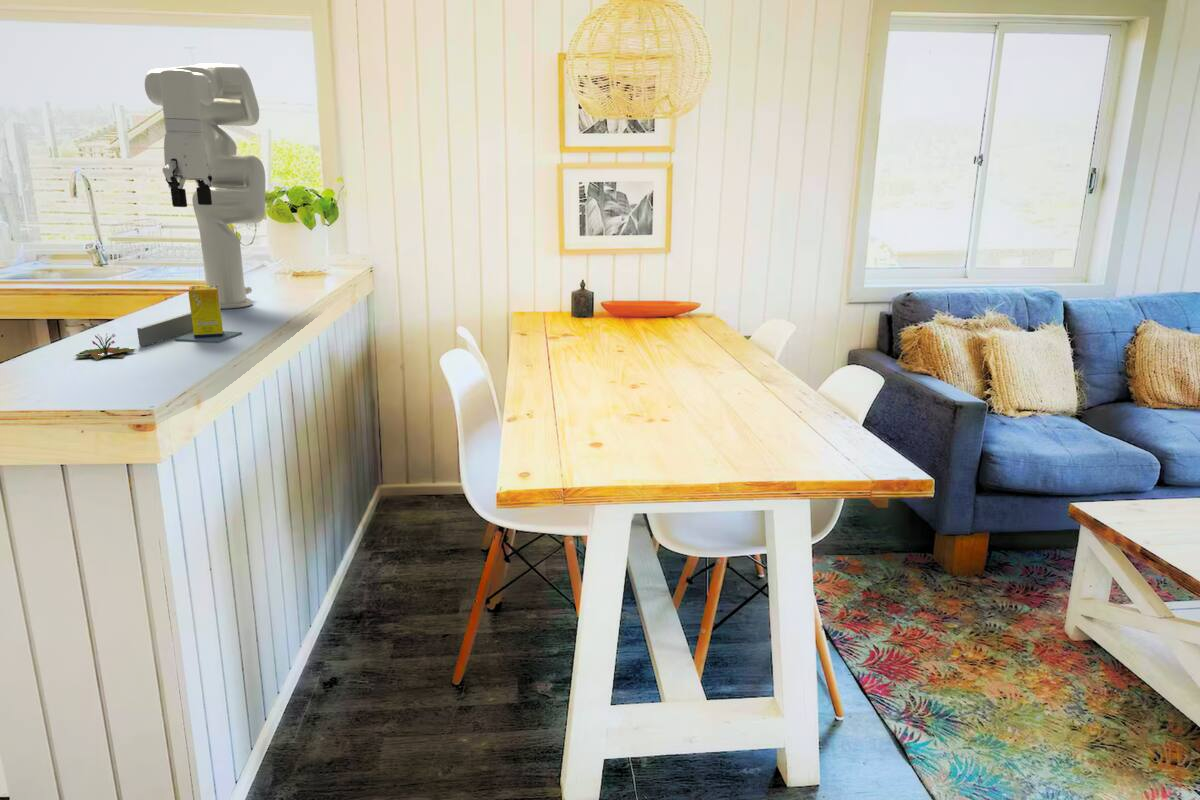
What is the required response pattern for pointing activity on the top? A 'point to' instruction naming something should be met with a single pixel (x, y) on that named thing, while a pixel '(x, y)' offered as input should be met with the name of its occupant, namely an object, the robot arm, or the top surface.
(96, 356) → the lily flower
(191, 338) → the rubber mat
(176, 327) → the low wall
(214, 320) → the supplement box
